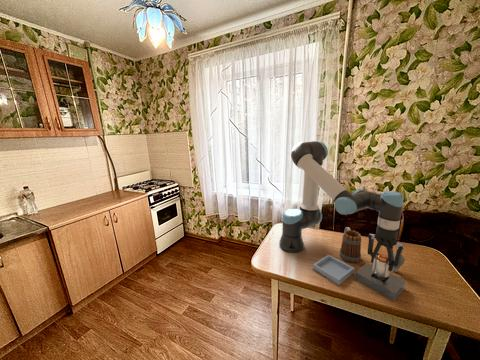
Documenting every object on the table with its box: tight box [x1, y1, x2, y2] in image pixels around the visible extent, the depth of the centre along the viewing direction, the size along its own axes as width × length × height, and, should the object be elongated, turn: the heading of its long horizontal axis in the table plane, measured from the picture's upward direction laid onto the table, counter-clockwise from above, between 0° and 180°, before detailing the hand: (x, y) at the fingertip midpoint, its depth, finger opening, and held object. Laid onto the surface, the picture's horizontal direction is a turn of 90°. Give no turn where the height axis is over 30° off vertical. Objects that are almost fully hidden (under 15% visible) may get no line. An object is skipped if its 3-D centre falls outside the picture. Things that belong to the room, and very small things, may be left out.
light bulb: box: [392, 252, 406, 273], centre depth 99 cm, size 6×6×10 cm
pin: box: [374, 252, 389, 283], centre depth 91 cm, size 4×4×14 cm
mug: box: [339, 226, 362, 264], centre depth 113 cm, size 16×11×15 cm
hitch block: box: [354, 262, 407, 302], centre depth 92 cm, size 16×12×4 cm
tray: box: [312, 254, 355, 286], centre depth 101 cm, size 14×14×3 cm
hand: (380, 272), depth 91 cm, fingers closed on pin, 4 cm apart
